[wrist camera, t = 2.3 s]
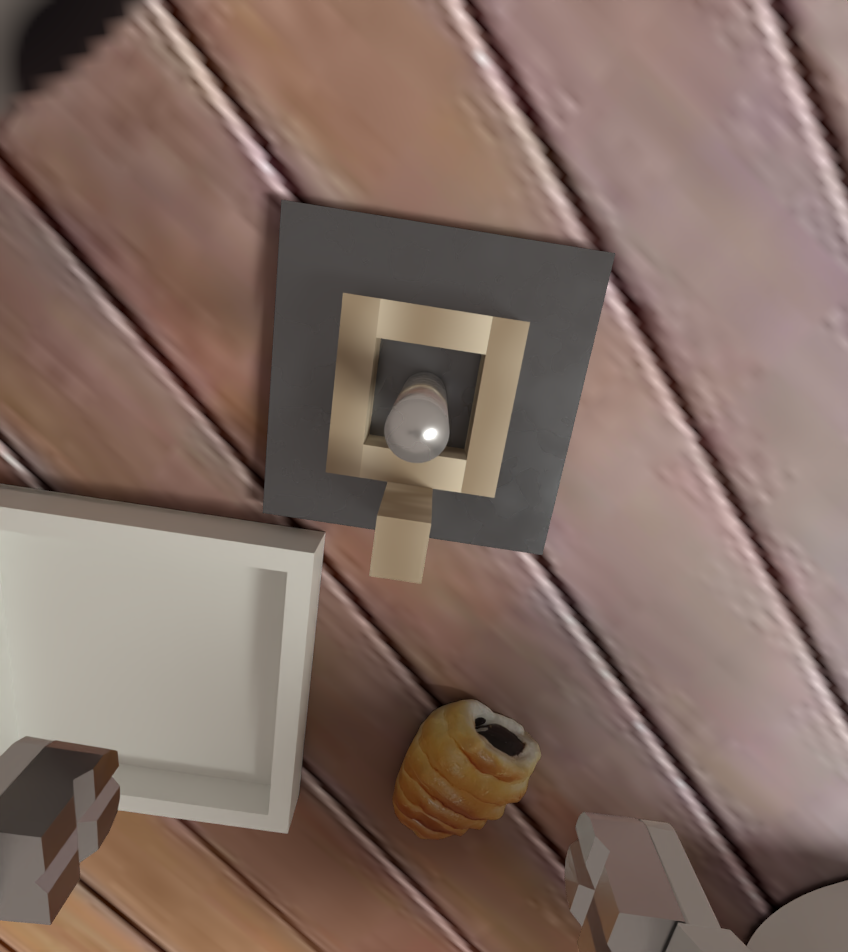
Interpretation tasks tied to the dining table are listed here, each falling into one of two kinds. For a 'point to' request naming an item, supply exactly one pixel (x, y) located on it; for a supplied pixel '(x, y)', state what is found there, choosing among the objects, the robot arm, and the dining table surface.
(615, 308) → the dining table surface
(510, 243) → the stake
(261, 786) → the tray
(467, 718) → the pastry
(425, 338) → the ring
